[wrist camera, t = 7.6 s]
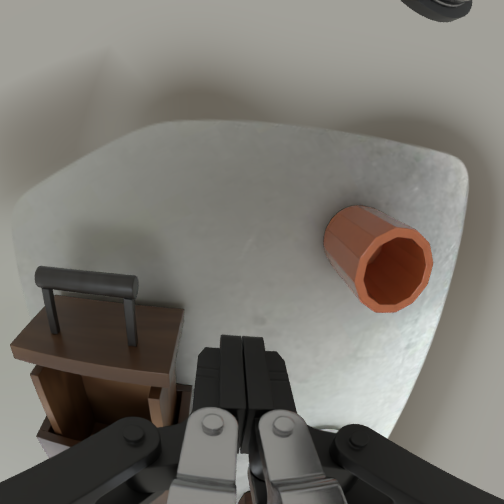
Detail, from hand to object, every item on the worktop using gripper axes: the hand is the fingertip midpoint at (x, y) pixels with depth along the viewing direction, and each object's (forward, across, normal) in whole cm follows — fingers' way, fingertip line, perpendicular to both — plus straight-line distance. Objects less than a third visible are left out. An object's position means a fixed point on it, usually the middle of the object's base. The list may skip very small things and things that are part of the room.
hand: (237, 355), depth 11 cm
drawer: (+12, +9, +11) cm, 19 cm away
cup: (+14, -10, -1) cm, 17 cm away
